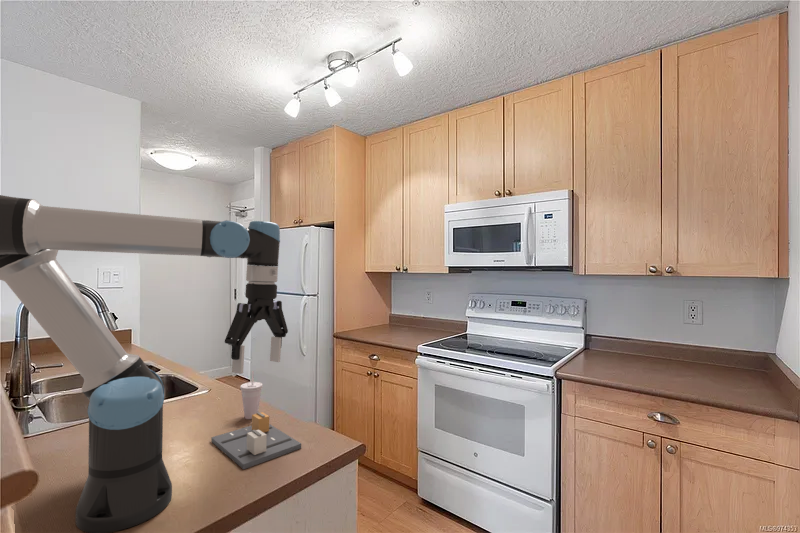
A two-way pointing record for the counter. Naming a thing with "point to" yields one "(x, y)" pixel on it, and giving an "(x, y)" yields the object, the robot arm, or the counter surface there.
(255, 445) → the cream fader
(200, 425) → the counter surface
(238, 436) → the fader board
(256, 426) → the orange fader
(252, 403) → the smoothie
